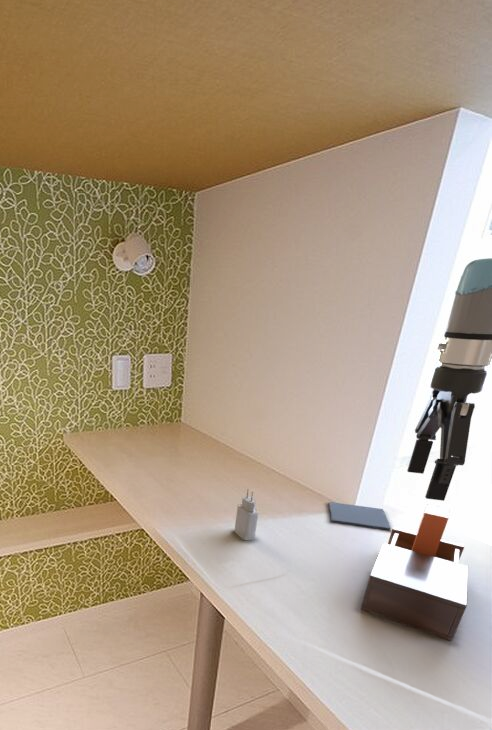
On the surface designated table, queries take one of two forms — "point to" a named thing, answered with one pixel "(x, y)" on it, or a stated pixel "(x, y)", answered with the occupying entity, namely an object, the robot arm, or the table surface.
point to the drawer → (444, 550)
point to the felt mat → (358, 515)
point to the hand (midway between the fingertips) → (424, 484)
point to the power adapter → (246, 518)
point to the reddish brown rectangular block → (431, 530)
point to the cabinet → (417, 590)
